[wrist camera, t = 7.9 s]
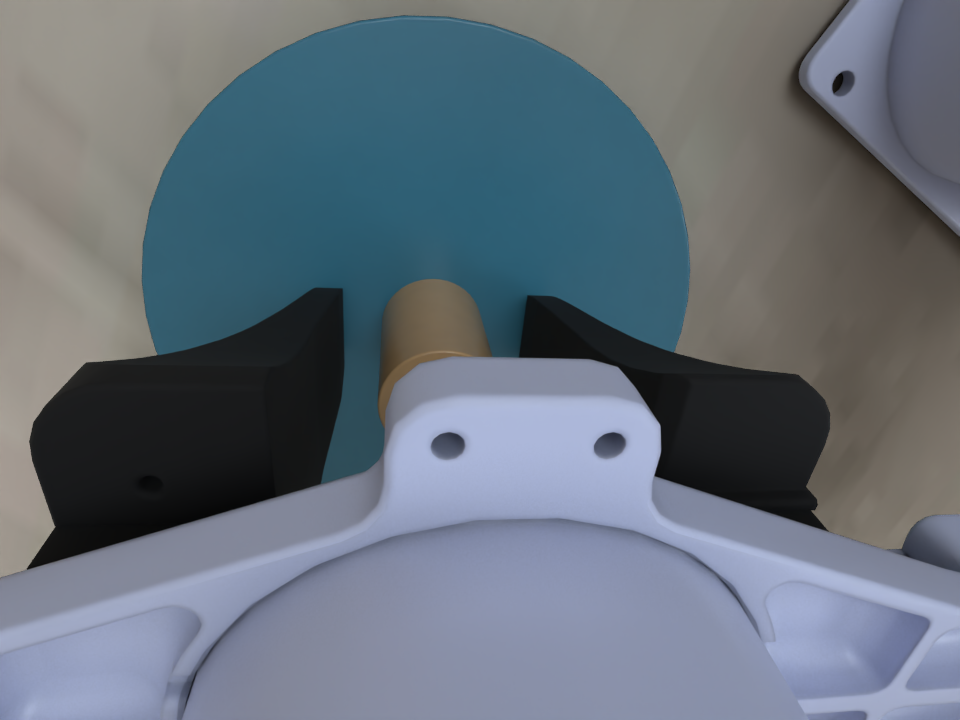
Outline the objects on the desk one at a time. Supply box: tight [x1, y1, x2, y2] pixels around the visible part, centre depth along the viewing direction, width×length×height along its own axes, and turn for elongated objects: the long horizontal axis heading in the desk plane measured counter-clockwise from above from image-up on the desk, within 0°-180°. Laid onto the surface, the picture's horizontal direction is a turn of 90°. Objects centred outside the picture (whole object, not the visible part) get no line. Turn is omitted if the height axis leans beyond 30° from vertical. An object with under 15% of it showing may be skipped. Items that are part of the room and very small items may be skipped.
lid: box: [142, 15, 690, 484], centre depth 13 cm, size 13×13×5 cm
